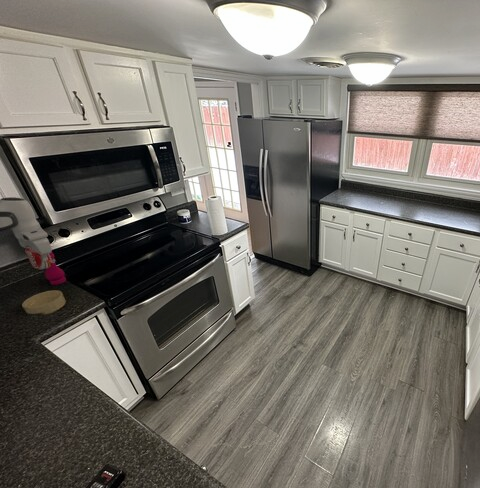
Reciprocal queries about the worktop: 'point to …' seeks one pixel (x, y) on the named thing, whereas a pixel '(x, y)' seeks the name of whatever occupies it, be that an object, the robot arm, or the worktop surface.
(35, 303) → the beige oval piece
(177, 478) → the worktop surface
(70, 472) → the worktop surface
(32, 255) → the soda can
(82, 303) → the worktop surface
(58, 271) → the pepper mill
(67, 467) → the worktop surface
